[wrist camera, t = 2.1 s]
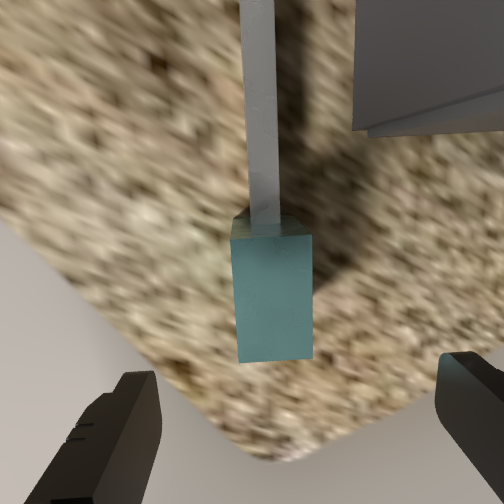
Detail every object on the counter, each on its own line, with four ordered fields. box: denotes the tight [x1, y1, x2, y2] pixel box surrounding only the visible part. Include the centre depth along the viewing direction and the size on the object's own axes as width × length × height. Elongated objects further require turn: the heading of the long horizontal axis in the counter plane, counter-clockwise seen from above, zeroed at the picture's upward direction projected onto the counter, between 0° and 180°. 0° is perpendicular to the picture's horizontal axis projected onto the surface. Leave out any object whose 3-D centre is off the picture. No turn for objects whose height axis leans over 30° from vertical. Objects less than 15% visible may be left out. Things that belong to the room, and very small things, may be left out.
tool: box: [230, 0, 313, 363], centre depth 16 cm, size 16×4×6 cm, turn 3°
